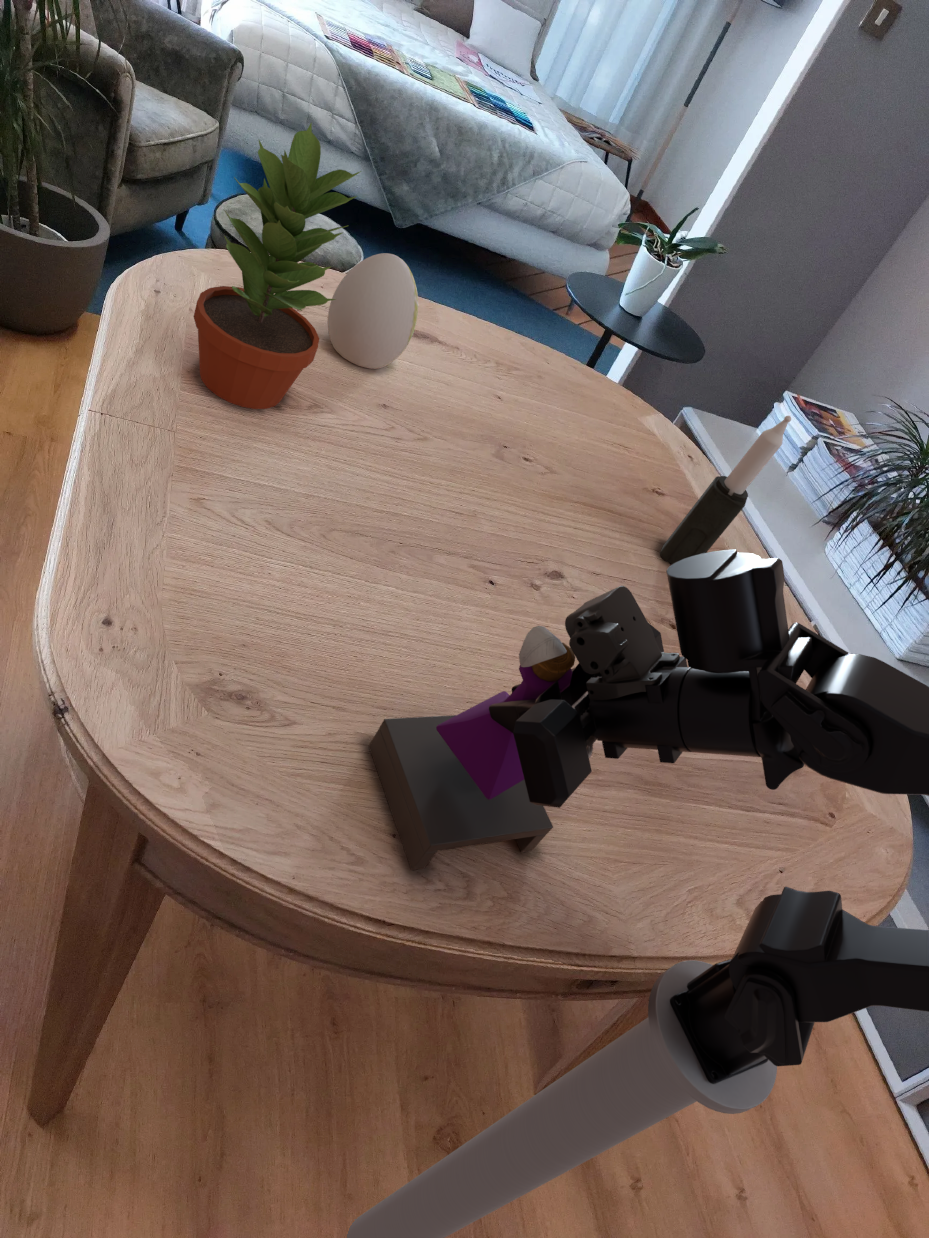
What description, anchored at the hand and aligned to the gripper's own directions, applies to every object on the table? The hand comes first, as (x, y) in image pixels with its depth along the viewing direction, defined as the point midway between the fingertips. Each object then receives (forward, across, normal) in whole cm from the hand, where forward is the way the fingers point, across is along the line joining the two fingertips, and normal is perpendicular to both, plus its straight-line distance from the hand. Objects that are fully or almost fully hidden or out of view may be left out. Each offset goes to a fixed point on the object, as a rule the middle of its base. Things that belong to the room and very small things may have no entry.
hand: (502, 701), depth 66 cm
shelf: (+8, 0, +10) cm, 13 cm away
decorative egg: (+48, -49, -31) cm, 76 cm away
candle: (+11, -62, +7) cm, 63 cm away
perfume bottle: (+4, -2, +7) cm, 8 cm away
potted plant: (+47, -25, -30) cm, 61 cm away
